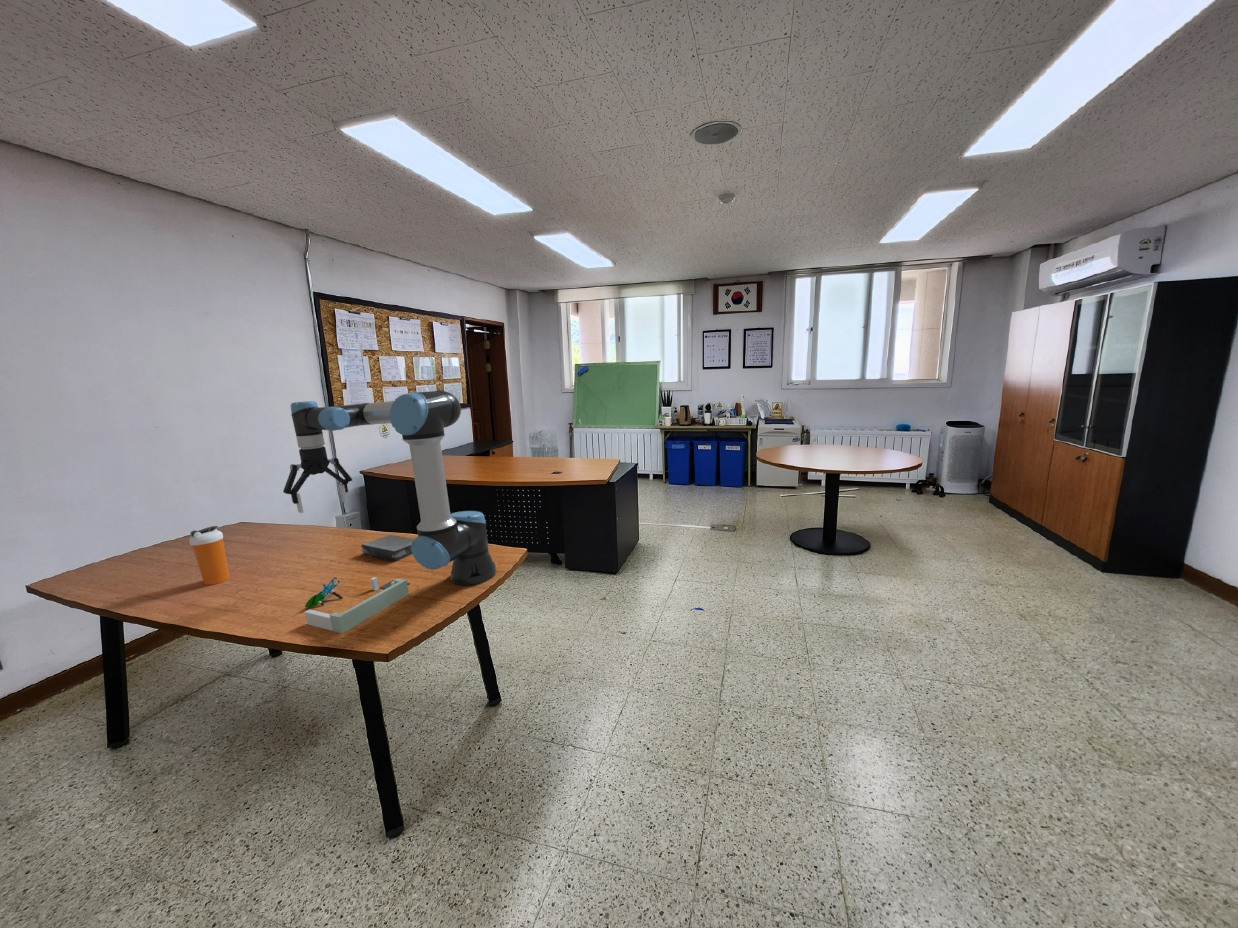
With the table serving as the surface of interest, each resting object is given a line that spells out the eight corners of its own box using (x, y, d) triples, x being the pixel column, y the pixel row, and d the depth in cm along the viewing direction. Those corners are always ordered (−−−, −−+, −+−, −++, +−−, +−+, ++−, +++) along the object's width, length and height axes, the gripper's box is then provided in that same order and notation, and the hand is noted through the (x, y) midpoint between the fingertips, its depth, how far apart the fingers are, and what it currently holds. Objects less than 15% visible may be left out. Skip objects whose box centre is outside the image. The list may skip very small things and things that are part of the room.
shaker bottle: (238, 577, 164) (225, 526, 159) (208, 588, 156) (194, 534, 152) (225, 573, 167) (213, 523, 163) (195, 584, 159) (181, 532, 155)
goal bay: (408, 594, 143) (406, 580, 142) (342, 633, 123) (339, 617, 122) (399, 592, 145) (397, 578, 144) (332, 630, 124) (329, 614, 123)
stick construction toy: (333, 584, 148) (335, 571, 144) (351, 595, 148) (353, 582, 144) (301, 611, 139) (302, 598, 134) (320, 622, 138) (321, 610, 134)
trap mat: (410, 583, 151) (410, 583, 151) (397, 591, 146) (397, 590, 146) (393, 580, 154) (393, 579, 154) (379, 588, 149) (379, 587, 149)
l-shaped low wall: (399, 592, 145) (397, 581, 144) (332, 630, 124) (330, 618, 123) (376, 587, 149) (374, 576, 148) (307, 624, 128) (304, 611, 128)
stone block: (396, 562, 170) (394, 550, 169) (362, 556, 178) (360, 544, 177) (424, 549, 182) (422, 538, 181) (391, 544, 190) (389, 533, 189)
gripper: (347, 440, 161) (356, 496, 166) (263, 452, 142) (277, 515, 146) (355, 442, 157) (365, 499, 161) (270, 454, 137) (284, 518, 142)
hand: (323, 506), depth 154 cm, fingers open, 13 cm apart
